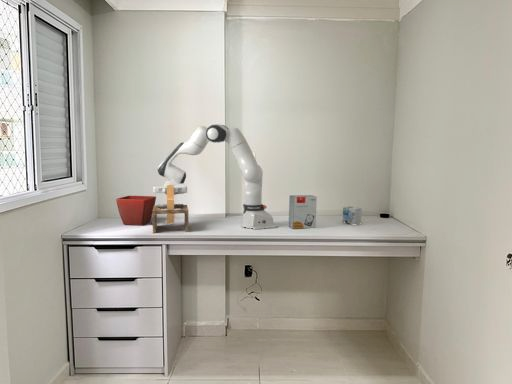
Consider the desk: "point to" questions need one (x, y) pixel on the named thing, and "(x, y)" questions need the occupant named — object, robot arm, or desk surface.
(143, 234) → the desk surface
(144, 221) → the plant pot
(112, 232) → the desk surface
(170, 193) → the tall tan upright block
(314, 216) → the hard drive box
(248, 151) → the robot arm
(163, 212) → the tan rectangular frame
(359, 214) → the light bulb box
